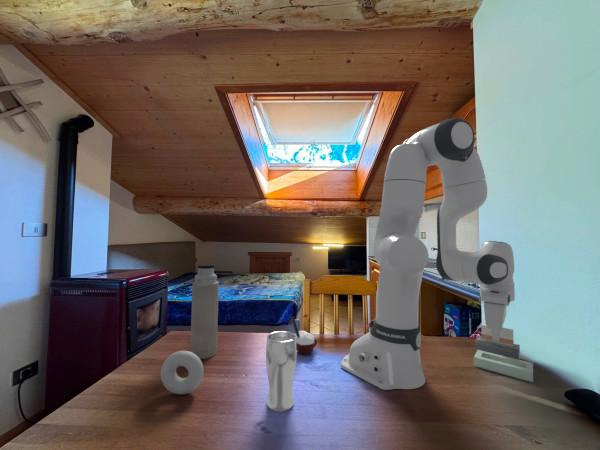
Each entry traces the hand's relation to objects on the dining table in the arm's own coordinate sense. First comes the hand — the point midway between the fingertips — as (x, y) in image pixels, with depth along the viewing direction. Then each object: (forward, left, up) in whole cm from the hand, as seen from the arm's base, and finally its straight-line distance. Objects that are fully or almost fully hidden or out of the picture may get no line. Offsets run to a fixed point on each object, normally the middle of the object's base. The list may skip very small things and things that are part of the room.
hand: (497, 337), depth 85 cm
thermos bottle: (-71, -59, -7) cm, 93 cm away
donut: (-55, -74, -7) cm, 92 cm away
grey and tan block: (0, 0, -7) cm, 7 cm away
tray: (+2, -9, -7) cm, 12 cm away
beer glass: (-35, -61, -7) cm, 71 cm away
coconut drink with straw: (-48, -37, -7) cm, 61 cm away
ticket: (0, 0, -6) cm, 6 cm away
